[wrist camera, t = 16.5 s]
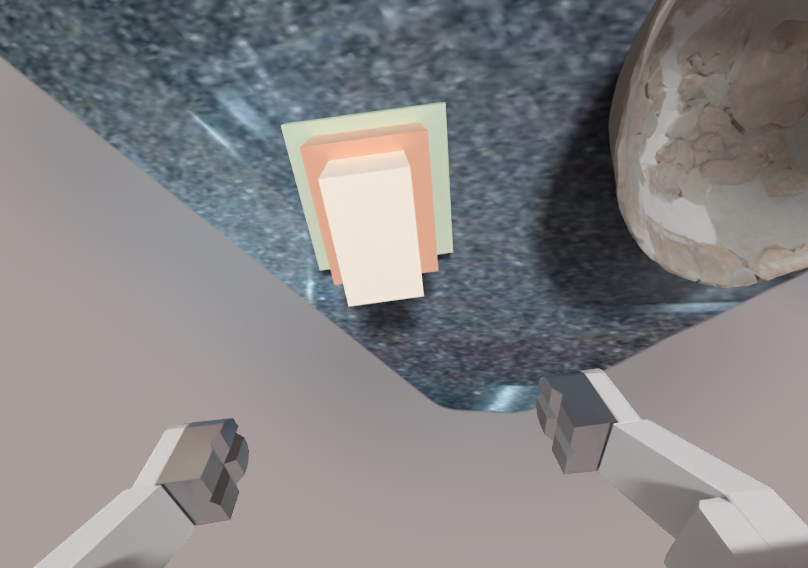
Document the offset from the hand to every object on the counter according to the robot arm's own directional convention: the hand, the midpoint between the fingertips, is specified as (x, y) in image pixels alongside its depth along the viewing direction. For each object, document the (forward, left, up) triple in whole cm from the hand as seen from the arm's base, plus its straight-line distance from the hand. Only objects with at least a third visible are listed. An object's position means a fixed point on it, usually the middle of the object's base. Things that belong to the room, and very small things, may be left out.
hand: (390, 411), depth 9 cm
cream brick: (0, 0, -17) cm, 17 cm away
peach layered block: (0, 0, -23) cm, 23 cm away
